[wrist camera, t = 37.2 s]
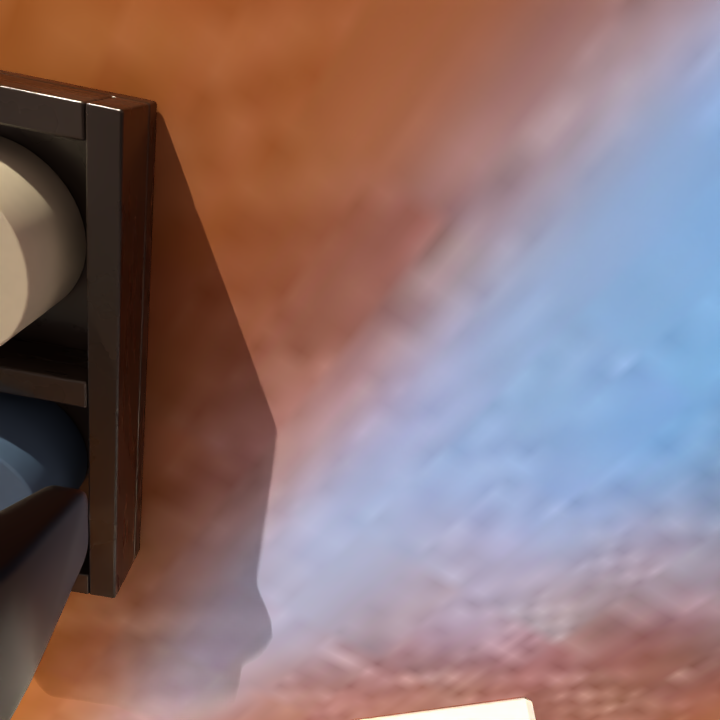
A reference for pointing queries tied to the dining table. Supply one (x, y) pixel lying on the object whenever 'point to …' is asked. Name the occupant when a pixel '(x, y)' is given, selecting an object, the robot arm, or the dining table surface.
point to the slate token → (37, 448)
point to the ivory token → (35, 239)
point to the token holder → (93, 300)
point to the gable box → (473, 712)
